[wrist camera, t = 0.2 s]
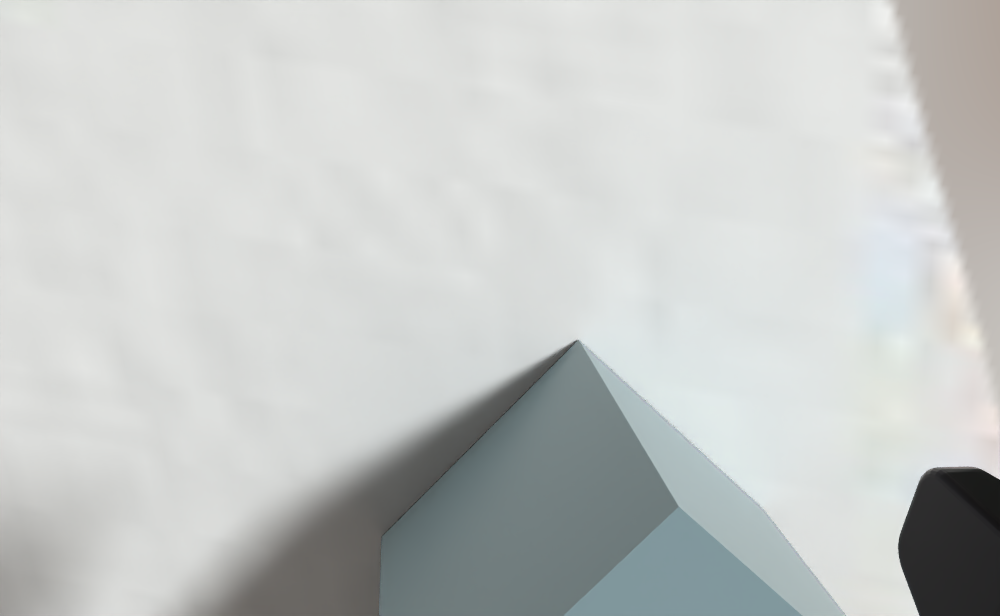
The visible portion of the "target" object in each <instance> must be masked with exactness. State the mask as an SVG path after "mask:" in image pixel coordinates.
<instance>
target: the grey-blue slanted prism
mask: <svg viewBox="0 0 1000 616" xmlns="http://www.w3.org/2000/svg"><path fill="white" fill-rule="evenodd" d="M379 616H846V615H845V613H844V612H843V611H842V610H841V608H840V607H839V606H838V604H837V603H836V602H835V601H834V599H833V598H832V597H831V595H830V594H829V593H828V592H827V590H826V589H825V588H824V586H823V585H822V584H821V583H820V581H819V580H818V579H817V577H816V576H815V575H814V574H813V572H812V571H811V570H810V568H809V567H808V566H807V565H806V563H805V562H804V561H803V559H802V558H801V557H800V556H799V554H798V553H797V552H796V550H795V549H794V548H793V547H792V545H791V544H790V543H789V541H788V540H787V539H786V538H785V536H784V535H783V534H782V532H781V531H780V530H779V529H778V527H777V526H776V525H775V523H774V522H773V521H772V520H771V518H770V517H769V516H768V514H767V513H766V512H765V510H764V509H763V508H762V507H760V506H759V505H758V504H757V503H756V502H755V501H754V500H753V499H752V498H751V497H750V496H748V495H747V494H746V493H745V492H744V491H743V490H742V489H741V488H740V487H739V486H738V485H737V484H735V483H734V482H733V481H732V480H731V479H730V478H729V477H728V476H727V475H726V474H725V473H723V472H722V471H721V470H720V469H719V468H718V467H717V466H716V465H715V464H714V463H713V462H711V461H710V460H709V459H708V458H707V457H706V456H705V455H704V454H703V453H702V452H701V451H699V450H698V449H697V448H696V447H695V446H694V445H693V444H692V443H691V442H690V441H689V440H687V439H686V438H685V437H684V436H683V435H682V434H681V433H680V432H679V431H678V430H677V429H675V428H674V427H673V426H672V425H671V424H670V423H669V422H668V421H667V420H666V419H665V418H664V417H662V416H661V415H660V414H659V413H658V412H657V411H656V410H655V409H654V408H653V407H652V406H650V405H649V404H648V403H647V402H646V401H645V400H644V399H643V398H642V397H641V396H640V395H638V394H637V393H636V392H635V391H634V390H633V389H632V388H631V387H630V386H629V385H628V384H626V383H625V382H624V381H623V380H622V379H621V378H620V377H619V376H618V375H617V374H616V373H614V372H613V371H612V370H611V369H610V368H609V367H608V366H607V365H606V364H605V363H604V362H602V361H601V360H600V359H599V358H598V357H597V356H596V355H595V354H594V353H593V352H592V351H591V350H589V349H588V348H587V347H586V346H585V345H584V344H583V343H582V342H581V341H580V340H578V341H577V342H576V343H575V344H574V345H573V346H572V347H571V348H570V349H569V350H568V351H567V352H566V353H565V354H564V355H563V356H562V357H561V358H560V359H559V360H558V361H557V362H556V363H555V364H554V365H553V366H552V367H551V368H550V369H549V370H548V371H547V372H546V373H545V374H544V375H543V376H542V377H541V378H540V379H539V380H538V381H537V382H536V383H535V384H534V385H533V386H532V387H531V388H530V389H529V390H528V391H527V392H526V393H525V394H524V395H523V396H522V397H521V398H520V399H519V400H518V401H517V402H516V403H515V404H514V405H513V406H512V407H511V408H510V409H509V410H508V411H507V412H506V413H505V414H504V415H503V416H502V417H501V418H500V419H499V420H498V421H497V422H496V423H495V424H494V425H493V426H492V427H491V428H490V429H489V430H488V431H487V432H486V433H485V434H484V435H483V436H482V437H481V438H480V439H479V440H478V441H477V442H476V443H475V444H474V445H473V446H472V447H471V448H470V449H469V450H468V451H467V452H466V453H465V454H464V455H463V456H462V457H461V458H460V459H459V460H458V461H457V462H456V463H455V464H454V465H453V466H452V467H451V468H450V469H449V470H448V471H447V472H446V473H445V474H444V475H443V476H442V477H441V478H440V479H439V480H438V481H437V482H436V483H435V484H434V485H433V486H432V487H431V488H430V489H429V490H428V491H427V492H426V493H425V494H424V495H423V496H422V497H421V498H420V499H419V500H418V501H417V502H416V503H415V504H414V505H413V506H412V507H411V508H410V509H409V510H408V511H407V512H406V513H405V514H404V515H403V516H402V517H401V518H400V519H399V520H398V521H397V522H396V523H395V524H394V525H393V526H392V527H391V528H390V529H389V530H388V531H387V532H386V533H385V534H384V535H383V536H382V539H381V569H380V599H379Z"/></svg>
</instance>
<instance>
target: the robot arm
mask: <svg viewBox="0 0 1000 616" xmlns="http://www.w3.org/2000/svg"><path fill="white" fill-rule="evenodd" d="M898 551H899V559H900V563H901V567H902V570H903V573H904V575H905V578H906V581H907V583H908V586H909V589H910V591H911V594H912V597H913V599H914V602H915V605H916V607H917V610H918V613H919V616H1000V480H999V479H998V478H996V477H994V476H992V475H991V474H989V473H987V472H985V471H983V470H981V469H979V468H975V467H937V468H933V469H930V470H928V471H927V472H926V473H925V474H924V475H923V476H922V477H921V479H920V481H919V483H918V486H917V489H916V492H915V494H914V497H913V500H912V503H911V505H910V508H909V511H908V514H907V516H906V519H905V522H904V525H903V528H902V530H901V533H900V537H899V544H898Z"/></svg>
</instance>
